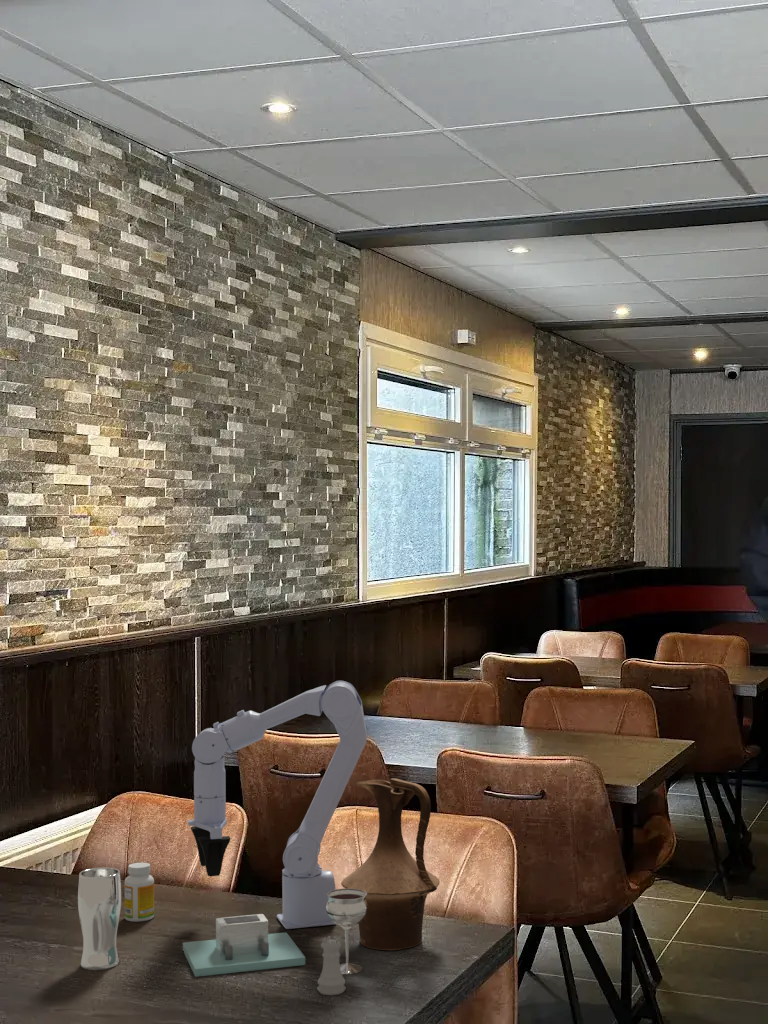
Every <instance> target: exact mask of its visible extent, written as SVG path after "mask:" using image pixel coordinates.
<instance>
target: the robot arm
mask: <svg viewBox="0 0 768 1024" xmlns="http://www.w3.org/2000/svg"><path fill="white" fill-rule="evenodd" d="M322 713H324V714H325V716H326V717H327V719H328V720H329V721H330V722H331V723H332V724H333V725H334V728H335V730H336V732H337V735H338V737H339V739H340V740H339V742H338V744H337V746H336V748H335V751H334V752H333V755H332V757H331V759H330V762H329V763H328V766H327V768H326V771H325V773H323V774H324V775H323V776H322V779H321V781H320V783H319V785H318V788H317V790H316V791H315V794H314V797H313V799H312V801H311V803H310V805H309V807H308V809H307V812H306V814H305V815H304V818H303V820H302V821H301V824H300V825H299V827H298V829H297V830H296V831H295V832H293V833H292V834H291V835H290V836H289V837H288V839H287V842H286V847H285V849H284V851H283V854H282V863H283V867H284V868H283V869H282V870H281V871H282V873H281V876H282V877H281V880H282V881H281V883H282V884H281V886H282V887H281V888H282V892H281V893H282V897H281V898H282V901H281V902H282V913H278V914H276V918H277V919H278V921H279V922H280V923H281V924H282V926H283V927H284V928H285V930H292V929H301V928H309V927H310V928H311V927H321V926H330V925H336V924H335V923H334V922H333V921H332V920H331V919H330V918H329V917H328V914H327V912H326V905H327V901H328V897H327V896H326V894H327V893H328V892H329V891H332V890H336V881H335V876H334V874H333V871H331V870H323V868H322V866H321V865H320V864H319V862H318V861H319V855H320V852H321V844H322V842H323V839H324V836H325V833H326V831H327V830H328V827H329V824H330V822H331V820H332V818H333V816H334V813H335V811H336V810H337V807H338V805H339V803H340V800H341V798H342V796H343V793H344V792H345V789H346V788H347V785H348V783H349V781H350V779H351V776H352V774H353V772H354V769H355V767H356V766H357V763H358V761H359V759H360V756H361V754H362V753H363V751H364V748H365V747H366V744H367V739H368V731H367V727H366V719H365V713H364V707H363V701H362V699H361V696H360V695H359V693H358V691H357V689H356V688H355V687H354V685H353V684H352V683H350V682H347V681H344V680H336V681H334V682H332V683H330V684H329V685H326V684H324V685H321V686H318V687H315V688H313V689H309V690H306V691H304V692H302V693H300V694H298V695H296V696H294V697H292V698H289V699H288V700H285V701H284V702H281V703H279V704H277V705H276V706H273V707H271V708H268V709H267V710H264V711H263V712H260V713H259V712H256V711H254V710H248V711H245V710H244V709H242V710H239V711H237V713H236V716H234V717H232V718H230V719H227V720H225V721H222V722H219V721H216V722H214V723H213V724H212V726H213V728H212V727H207V728H205V729H203V730H202V731H201V732H199V733H198V735H196V736H195V737H194V739H193V741H192V744H191V752H192V754H193V756H194V762H193V763H194V771H193V795H194V797H193V811H194V812H193V819H188V820H187V825H188V826H189V827H190V830H191V832H192V834H193V836H194V840H195V843H196V847H197V852H198V858H199V862H200V866H201V867H205V870H206V874H207V877H219V876H221V875H220V874H221V871H222V868H223V867H222V866H223V861H224V857H225V853H226V849H228V846H229V844H230V841H231V836H229V835H227V836H223V829H224V828H225V827H226V825H227V824H228V820H227V816H226V815H227V813H226V810H227V808H226V805H227V804H226V800H227V797H226V795H227V793H226V791H227V789H226V787H227V786H226V782H227V781H226V780H227V779H226V777H227V776H226V768H225V755H224V754H225V753H229V754H232V753H235V752H237V751H238V750H241V749H243V748H246V747H248V746H250V745H253V744H254V743H257V742H258V741H262V740H263V739H264V736H265V735H266V731H267V730H268V729H271V728H274V727H276V726H278V725H281V724H283V723H286V722H288V721H291V720H293V719H295V718H298V717H300V716H303V715H305V714H306V715H312V716H316V717H320V716H321V715H322Z"/></svg>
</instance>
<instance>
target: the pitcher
mask: <svg viewBox="0 0 768 1024" xmlns="http://www.w3.org/2000/svg"><path fill="white" fill-rule="evenodd" d="M355 786H357V787H361V788H363V789H366V790H367V791H368V792H370V793H371V795H372V796H373V797H374V799H375V803H376V805H377V810H378V820H379V821H378V824H379V825H378V833H377V838H376V842H375V845H374V847H373V850H372V852H370V855H369V856H368V858H367V859H366V860H365V861H364V862H363V863H362V864H361V865H360V866H359V867H358V868H357V869H355V870H354V871H352V873H350V874H349V875H347V876H345V878H343V879H342V880H341V883H340V884H341V886H342V887H343V889H348V888H351V889H359V890H363V891H365V892H366V893H367V896H366V898H365V900H366V901H367V905H368V906H367V913H366V916H365V917H364V918H363V919H362V920H361V921H360V922H359V923H358V929H359V942H360V944H361V945H362V946H364V947H366V948H369V949H374V950H382V951H396V950H403V949H408V948H412V947H416V946H418V945H420V944H421V943H422V942H423V941H422V940H423V923H424V914H425V913H424V912H425V904H426V899H427V897H428V895H429V894H430V893H434V892H435V891H436V890H438V887H439V885H440V879H439V877H437V876H436V875H435V874H432V873H431V872H430V871H428V870H427V869H426V863H425V860H424V859H425V858H424V852H425V851H424V850H425V849H424V848H425V847H424V846H425V841H426V838H427V831H428V828H429V827H428V826H429V823H430V819H431V811H432V805H431V804H432V803H431V798H430V796H429V793H428V792H427V790H426V788H425V787H423V786H422V785H420V784H418V783H416V782H412V781H411V782H410V781H406V780H402V779H400V778H396V777H395V778H390V781H387V780H384V779H369V780H362V781H361V780H360V781H357V782H356V783H355ZM415 795H416V796H417V798H418V800H419V803H420V813H419V823H418V825H417V834H416V838H415V839H416V840H415V842H416V844H415V858H414V857H413V856H412V855H411V853H410V852H409V850H408V848H407V846H406V844H405V843H406V842H405V841H404V837H403V833H402V830H403V829H402V814H403V808H404V807H405V806H407V805H408V804H409V803H410V801H411V799H412V798H413V797H414V796H415Z"/></svg>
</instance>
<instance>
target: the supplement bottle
mask: <svg viewBox="0 0 768 1024" xmlns="http://www.w3.org/2000/svg"><path fill="white" fill-rule="evenodd" d="M127 872H128V874H129V875H128V876H127V877H125V879H124V919H125V920H126V921H129V922H132V923H133V922H134V923H138V922H139V923H140V922H146V921H150V920H152V919H153V918H155V917H154V916H155V879H154V877H153V876H152V875H151V874H150V873H151V864H150V863H148V862H135V863H130V864H129V865H128V868H127Z"/></svg>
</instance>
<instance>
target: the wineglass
mask: <svg viewBox="0 0 768 1024" xmlns="http://www.w3.org/2000/svg"><path fill="white" fill-rule="evenodd" d="M326 896H327V897H328V901H327V905H326V912H327V914H328V917H329V918H330V919H331V920H332V921H333V922H334V923H335V924H334V925H337V926H340V927H341V928H342V930H344V943H345V944H344V946H345V963H341V964H340V970H341V973H342V974H343V975H352V974H357V973H359V972H361V971H362V970H363V967H362V966H361V965H359V964H355V963H350V962H349V955H350V954H349V952H350V951H349V950H350V930H351V929H352V928H353V927H355V926H357V925H359V922H360V921H361V920H362V919H363V918H364V917H365V916H366V913H367V906H368V905H367V901H366V900H365V898H366V896H367V893H366V892H365V891H363V890H359V889H351V888H348V889H345V888H337V889H336V888H335V890H332V891H329V892H328V893H327V894H326Z"/></svg>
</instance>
